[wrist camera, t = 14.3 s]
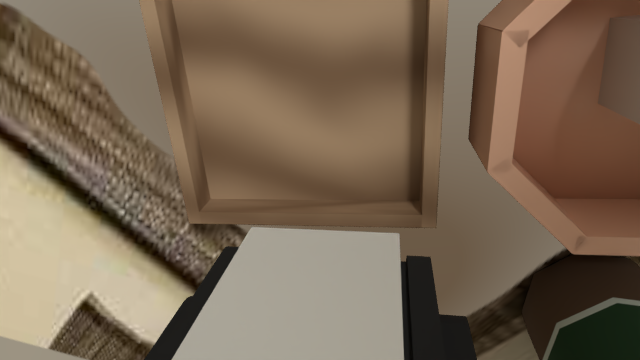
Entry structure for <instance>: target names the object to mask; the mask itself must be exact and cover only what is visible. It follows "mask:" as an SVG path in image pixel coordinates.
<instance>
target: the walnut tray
mask: <svg viewBox="0 0 640 360" xmlns="http://www.w3.org/2000/svg"><path fill="white" fill-rule="evenodd" d="M139 2H140V6H141V10H142V15H143V20H144V24H145V29H146V33H147V38H148V42H149V46H150V51H151V55H152V60H153V64H154V69H155V73H156V78H157V82H158V86H159V91H160V95H161V100H162V104H163V108H164V113H165V118H166V122H167V126H168V131H169V135H170V140H171V144H172V148H173V153H174V157H175V162H176V166H177V171H178V175H179V180H180V184H181V188H182V193H183V197H184V202H185V206H186V211H187V215H188V220H189V223H195V224H248V225H302V226H354V227H355V226H356V227H407V228H409V227H410V228H436V223H437V205H438V204H437V203H438V184H439V167H440V149H441V130H442V110H443V93H444V75H445V56H446V37H447V18H448V0H139Z"/></svg>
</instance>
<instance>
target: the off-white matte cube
mask: <svg viewBox="0 0 640 360" xmlns="http://www.w3.org/2000/svg"><path fill="white" fill-rule="evenodd" d="M598 104H600V105H602V106H604V107H606V108H608V109H610V110H612V111H614V112H616V113H618V114H620V115H622V116H624V117H626V118H628V119H630V120H632V121H634V122H636V123H638V124H640V15H631V16H622V17H614V18H610V23H609V30H608V37H607V44H606V50H605V57H604V64H603V71H602V78H601V85H600V92H599V99H598Z"/></svg>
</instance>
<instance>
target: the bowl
mask: <svg viewBox="0 0 640 360" xmlns="http://www.w3.org/2000/svg"><path fill="white" fill-rule="evenodd" d="M631 15H640V0H502V1H501V2H500V3H499V4H498V5H497V6H496V7H495V8H494V9H493V10H492V11H491V12H490V13H489V14H488V15H487V16H486V17H485V18H484V19H483V20H482V21H481V22H480V23H479V25H478V30H477V42H476V53H475V66H474V79H473V91H472V102H471V115H470V127H469V141H470V143H471V144H472V146H473V148H474V149H475V151H476V153H477V155H478V156H479V158H480V160H481V162H482V164H483V165H484V167H485V169H486V170H487V172H488V173H489V174H490V175H491V176H492V177H493V178H494V179H495V180H496V181H497V182H498V183H499V184H500V185H501V186H502V187H503V188H504V189H505V190H506V191H507V192H509V194H510V195H512V196H513V197H514V198H515V199H516V200H517V201H518V202H519V203H520V204H521V205H522V206H523V207H524V208H525V209H526V210H527V211H528V212H529V213H530V214H531V215H532V216H533V217H534V218H536V219H537V220H538V221H539V222H540V223H541V224H542V225H543V226H544V227H545V228H546V229H547V230H548V231H549V232H550V233H551V234H552V235H553V236H554V237H555V238H556V239H558V241H560V242H561V243H562V244H563V245H564V246H565V247H566V248H567V249H568V250H569V251H570V252H571V253H572V254H579V255H614V256H640V124H638V123H636V122H634V121H632V120H630V119H628V118H626V117H624V116H622V115H620V114H618V113H616V112H614V111H612V110H610V109H608V108H606V107H604V106H602V105H600V104H598V99H599V92H600V85H601V78H602V71H603V64H604V57H605V50H606V44H607V37H608V30H609V23H610V18H614V17H622V16H631Z"/></svg>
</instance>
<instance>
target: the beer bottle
mask: <svg viewBox="0 0 640 360" xmlns="http://www.w3.org/2000/svg"><path fill="white" fill-rule="evenodd" d="M522 315H523V318H524V321H525V324H526V327H527V330H528V333H529V336H530V338H531V340H532V343H533V345H534V348H535V350H536V352H537V355H538V357H539V359H540V360H640V267H639V266H638V265H637V264H636V263H635V262H634V261H633V260H631V259H628V258H623V257H614V256H606V255H579V254H571V255H569V256H567V257H565V258H564V259H562V260H560V261H558V262H556V263H554V264H552V265H550V266H548V267H546V268H544V269H542V270H540V271H538V272H536V273H534V275H533V278H532V281H531V284H530V287H529V290H528V293H527V296H526V299H525V302H524V305H523V309H522Z"/></svg>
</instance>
